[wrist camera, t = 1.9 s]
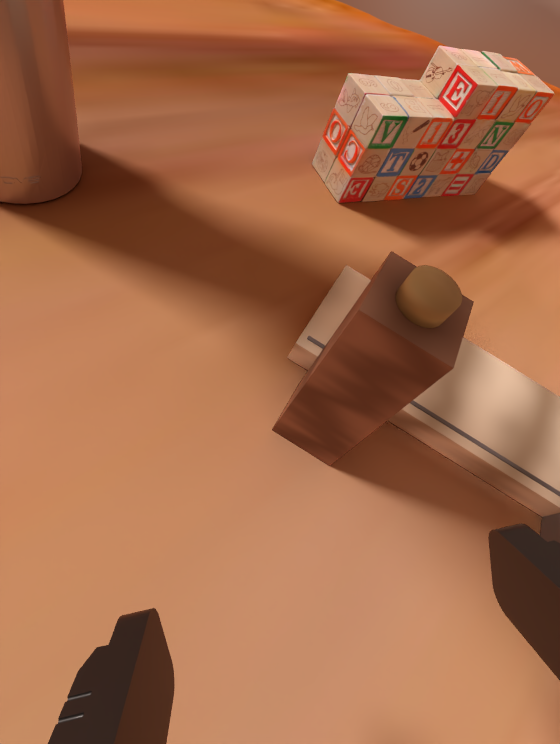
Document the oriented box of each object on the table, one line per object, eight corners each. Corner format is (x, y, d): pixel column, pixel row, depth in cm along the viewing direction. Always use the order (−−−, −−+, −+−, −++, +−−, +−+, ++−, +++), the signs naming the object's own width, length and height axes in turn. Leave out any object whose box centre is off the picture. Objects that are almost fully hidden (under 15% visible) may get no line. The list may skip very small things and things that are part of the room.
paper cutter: (239, 430, 27) (250, 411, 24) (336, 280, 37) (351, 256, 34) (572, 640, 26) (618, 642, 24) (582, 432, 36) (615, 419, 34)
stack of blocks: (337, 206, 42) (401, 75, 32) (309, 165, 44) (361, 30, 34) (475, 195, 52) (558, 91, 42) (447, 161, 54) (519, 55, 44)
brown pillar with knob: (271, 429, 28) (372, 290, 16) (300, 381, 30) (405, 231, 19) (329, 465, 28) (473, 352, 16) (353, 414, 30) (492, 284, 18)
